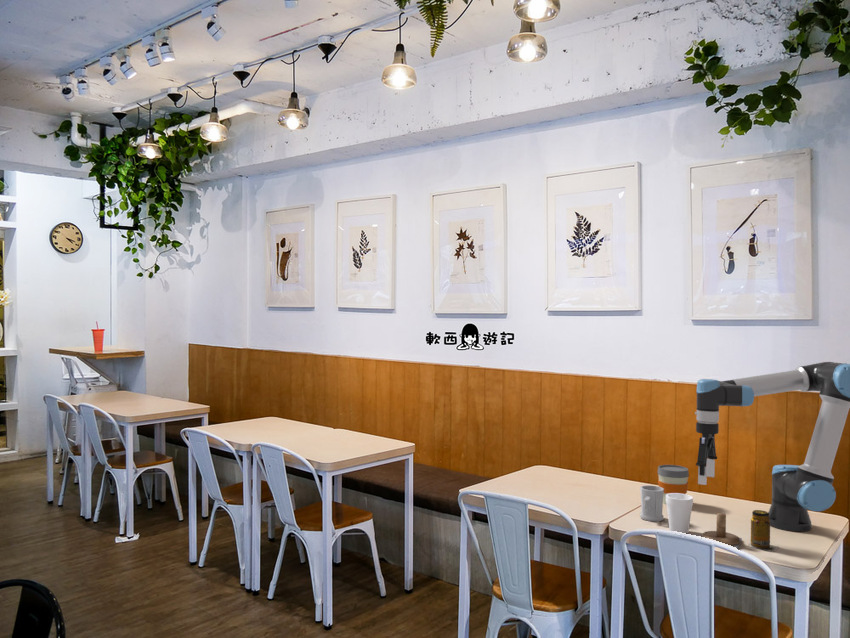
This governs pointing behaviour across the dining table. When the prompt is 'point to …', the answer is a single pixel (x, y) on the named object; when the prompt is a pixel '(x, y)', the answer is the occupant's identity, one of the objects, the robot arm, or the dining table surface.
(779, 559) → the dining table surface
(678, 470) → the reusable coffee cup
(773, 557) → the dining table surface
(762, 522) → the condiment
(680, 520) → the foam cup
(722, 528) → the lid
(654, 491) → the cup
